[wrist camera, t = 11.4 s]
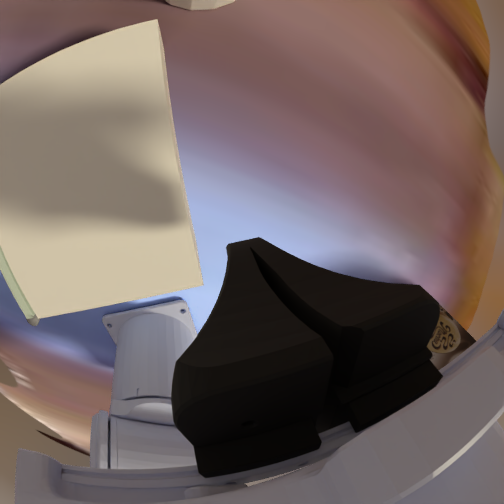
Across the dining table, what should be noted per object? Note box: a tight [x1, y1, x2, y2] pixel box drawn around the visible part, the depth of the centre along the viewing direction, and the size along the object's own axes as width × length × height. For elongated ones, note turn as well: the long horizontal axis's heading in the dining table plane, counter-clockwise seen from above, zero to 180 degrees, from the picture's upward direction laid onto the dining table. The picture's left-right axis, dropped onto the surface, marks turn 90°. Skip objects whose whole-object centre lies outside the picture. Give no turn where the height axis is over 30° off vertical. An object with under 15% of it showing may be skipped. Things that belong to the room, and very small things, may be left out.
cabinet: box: [0, 19, 204, 319], centre depth 13 cm, size 14×12×6 cm
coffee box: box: [427, 305, 476, 370], centre depth 25 cm, size 9×6×16 cm
